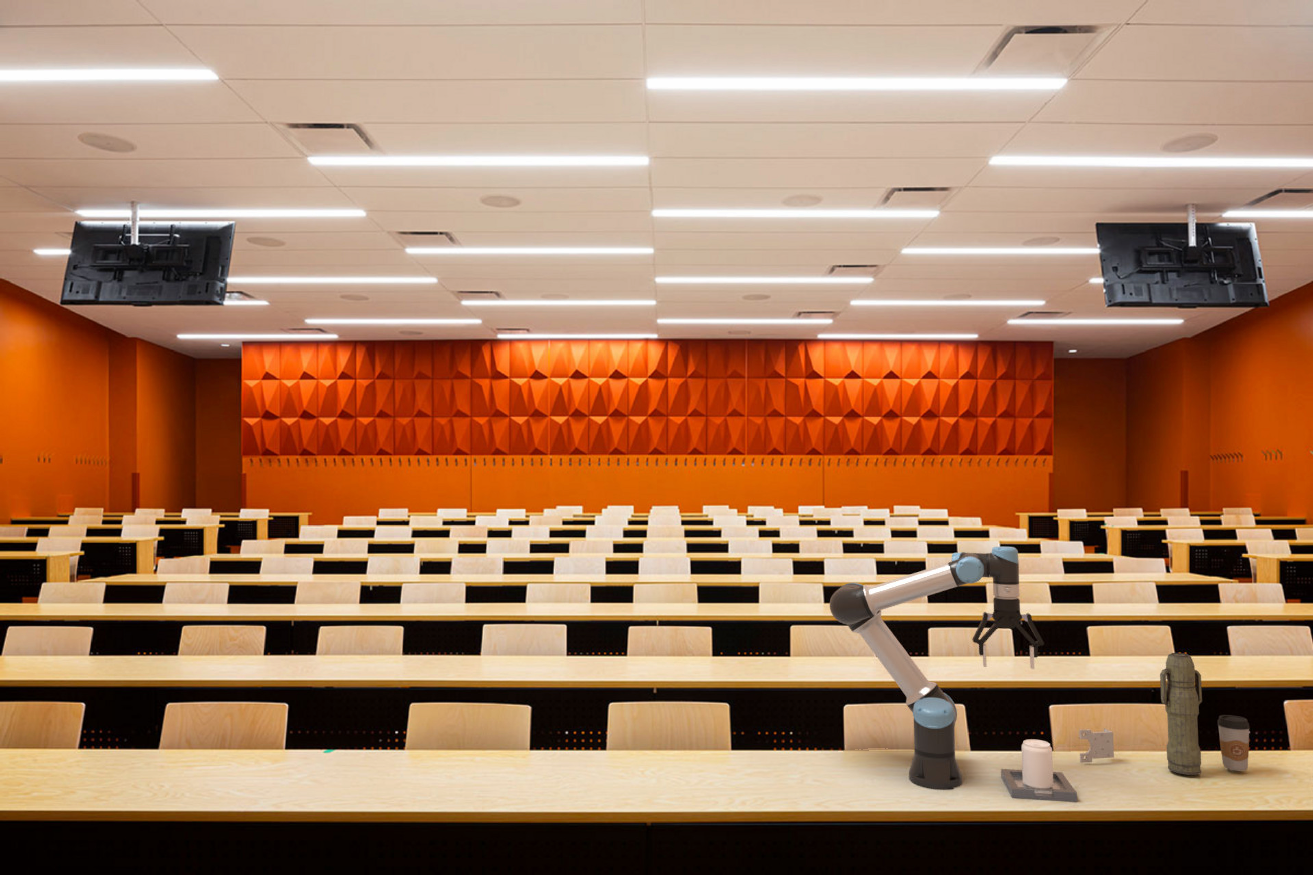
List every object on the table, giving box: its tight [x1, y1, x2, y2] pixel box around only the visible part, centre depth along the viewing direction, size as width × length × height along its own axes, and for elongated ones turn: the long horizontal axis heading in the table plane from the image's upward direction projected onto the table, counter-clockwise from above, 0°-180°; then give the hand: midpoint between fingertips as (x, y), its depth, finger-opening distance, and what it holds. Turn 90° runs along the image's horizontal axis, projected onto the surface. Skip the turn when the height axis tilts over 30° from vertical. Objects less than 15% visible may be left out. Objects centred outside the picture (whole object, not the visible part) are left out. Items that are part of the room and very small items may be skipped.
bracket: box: [1078, 727, 1115, 763], centre depth 275 cm, size 11×4×10 cm, turn 98°
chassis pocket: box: [1000, 768, 1078, 803], centre depth 249 cm, size 17×17×2 cm
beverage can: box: [1021, 738, 1054, 789], centre depth 249 cm, size 8×8×12 cm
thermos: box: [1159, 652, 1203, 776], centre depth 264 cm, size 9×12×35 cm
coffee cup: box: [1217, 714, 1250, 772], centre depth 265 cm, size 8×8×15 cm
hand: (1008, 667), depth 264 cm, fingers open, 13 cm apart
